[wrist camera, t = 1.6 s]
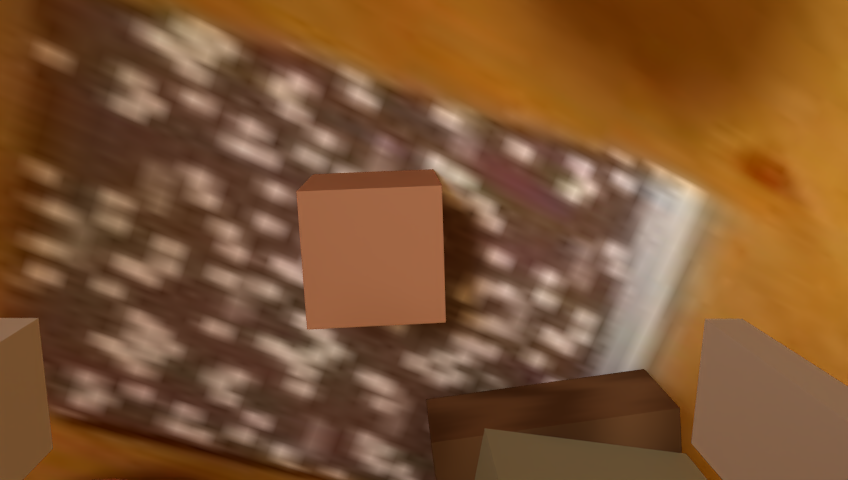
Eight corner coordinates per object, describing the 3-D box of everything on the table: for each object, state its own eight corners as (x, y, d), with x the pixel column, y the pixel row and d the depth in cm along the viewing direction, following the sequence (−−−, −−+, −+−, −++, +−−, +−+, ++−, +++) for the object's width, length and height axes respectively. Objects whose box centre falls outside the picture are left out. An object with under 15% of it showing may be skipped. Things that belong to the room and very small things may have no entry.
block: (321, 289, 35) (307, 329, 29) (313, 173, 33) (296, 191, 27) (436, 283, 35) (446, 322, 29) (433, 169, 33) (441, 185, 28)
